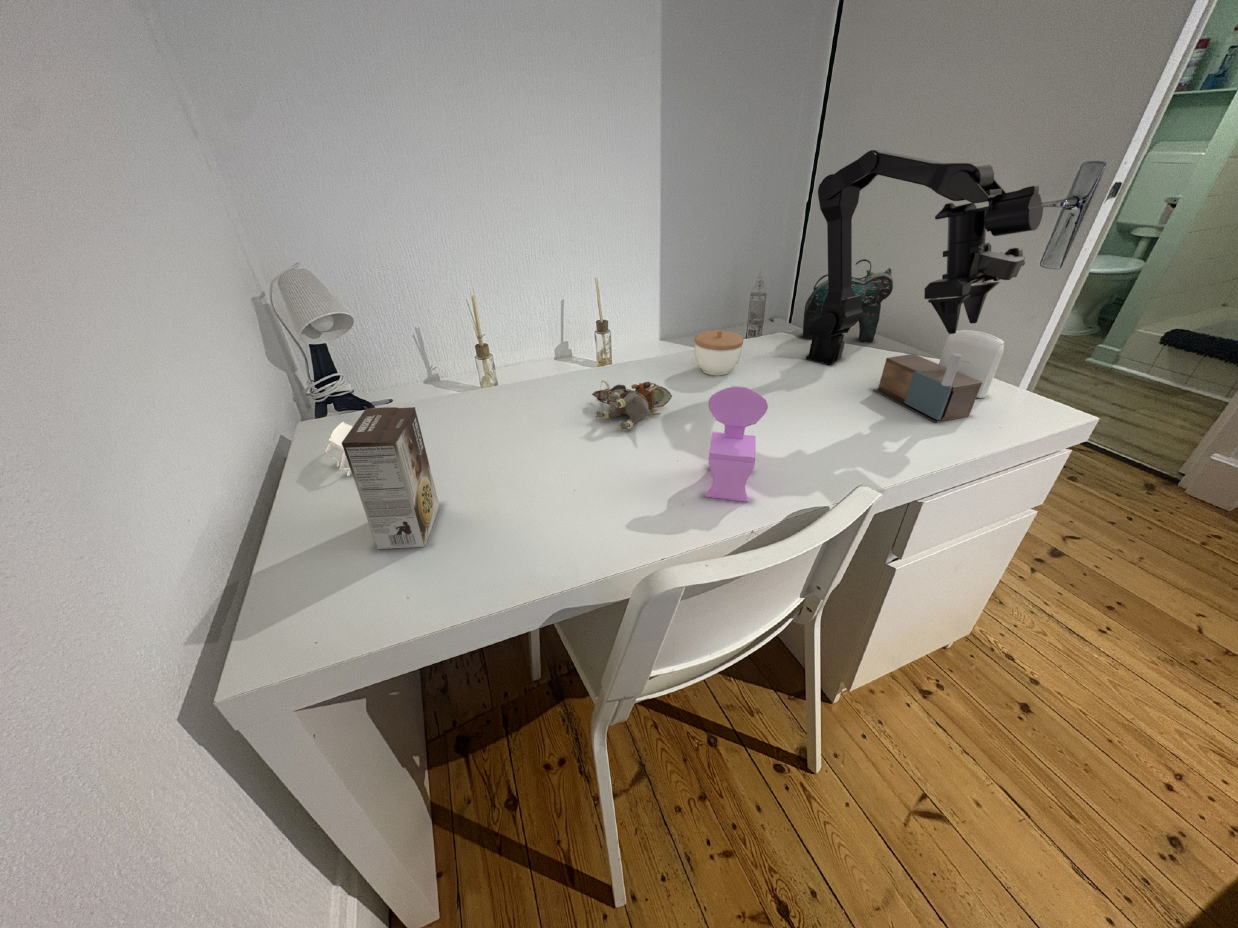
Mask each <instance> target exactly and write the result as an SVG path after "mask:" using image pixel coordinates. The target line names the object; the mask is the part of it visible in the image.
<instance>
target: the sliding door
mask: <svg viewBox="0 0 1238 928" xmlns="http://www.w3.org/2000/svg"><path fill="white" fill-rule="evenodd" d="M961 358H962V355H960V354H952V355H951V358H950V361H949V364H948V367H947V369H946V372H945V375H944V378H943V381H942V382H941V381H938V380H936V379H934V378H932V377H929V376H927V375H925V374H923V373H920V372H918V371H915V372H914V373H913V376H912V379H911V382H910V386H909V389H908V392H907V395H906V398H905V401H904V403H905V404H907V405H909V406H911V407H913V408H915V409H917V410H919V411H921V412H923V413H925V414H927V415H929V416H931V417H932V418H934V419H936V420H940V419H941V417H942V414H943V411H944V409H945V406H946V403H947V401H948V398H949V395H950V392H951V390H952V383H953V380H954V377H955V375H956V372H957V369H958V366H959V364H960V361H961Z"/></svg>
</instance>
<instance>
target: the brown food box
mask: <svg viewBox="0 0 1238 928" xmlns="http://www.w3.org/2000/svg"><path fill="white" fill-rule="evenodd" d="M352 426H353V427H352V429H351V430H350V432H349V433H348V434H347V436H346V437H345V439H344V440H343V442H342V443H341V444H342V446H343V448H344V451H345V455H346V456H345V458H346V460H347V463H348V466H349V468H350V469H351V472H350V473H351V475H352V477H353V481H354V484H355V487H356V490H357V493H358V495H359V498H360V501H361V504H362V507H363V510H364V514H365V516H366V519H367V522H368V525H369V528H370V532H371V533H372V537H373V540H374V543H375V546H376V549H377V550H389V549H406V548H407V549H409V548H410V549H411V548H424V547H426V546H427V543H428V539H429V538H430V534H431V531H432V528H433V526H434V523H435V520H436V517H437V514H438V511H439V509H440V503H439V498H438V494H437V491H436V487H435V482H434V479H433V475H432V474H433V473H432V471H431V465H430V461H429V458H428V454H427V450H426V445H425V442H424V437H423V433H422V430H421V425H420V422H419V418H418V413H417V411H416V406H413V407H412V406H409V407H393V406H392V407H391V406H387V407H385V406H383V407H369V408H365V409H364V410H363V412H362V413H361V414H360V416H359V418H358V419H357V420H356V422H355V423H354V425H352Z"/></svg>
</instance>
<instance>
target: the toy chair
mask: <svg viewBox="0 0 1238 928" xmlns="http://www.w3.org/2000/svg"><path fill="white" fill-rule="evenodd" d="M707 404H708V408H709V411H710V413H711V415H712V416H713V417H714V420H715V421H716V422H718V423H721V424H722V425H724V429H723V430H724V431H723V432H720V431H712V432H711V439H710V445H709V450H708V451H709V452H708V461H707V462H708V468H709V470H710V473H711V478H712V480H711V481H712V482H711V485H710V487H709V489H708V490H707V492H706V493H705V494H704V496H705V497H706V498H712V499H713V498H714V499H722V500H731V501H736V502H737V501H738V502H749V501H750V500H749V496H748V494H747V491H746V484H747V481H748V479H749V478H750V476H751V474H752V472H753V470H754V468H755V464H756V457H757V454H756V451H757V449H756V441H757V440H756V439H757V438H756V437H757V436H756V435H752V434H745V430H746V428H747V427H750V426H754V425H756V424H757V423H758V422H759V421H760V420H761V419H762V418H763V417H764V416H765V415H766V413H767V412H768V408H769V406H768V402H767V400H766V399H765V398H764V397H763V396H762V395H761V394H760V393H758V392H756V391H755V390H754V389H751V388H749V387H746V386H741V385H740V386H739V385H738V386H737V385H736V386H735V385H734V386H730V387H729V386H728V387H726V388H723V389H721V390H719V391H717V392H714V394H712V395H711V397H709V399H708V402H707Z"/></svg>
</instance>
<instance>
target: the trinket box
mask: <svg viewBox="0 0 1238 928" xmlns="http://www.w3.org/2000/svg"><path fill="white" fill-rule="evenodd" d="M693 342H694V358H695V361H696V363H697V365H698V366H699V368H700V369H701V371H702V372H703V373H704V374H706V375H710V376H718V377H719V376H726V375H728V374H729V373H730V371H732V370H733V369H735V367H736V365H738V363H739V362H740V361H739V360H740V358H741V354H742V350H743V344H744V338H743V336H742V335H740V334H738V333H735V332H732V331H728V330H727V331H726V330H722V329H717V330H705V331H701V332H699V333H697V334H695V336H694V341H693Z"/></svg>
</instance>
